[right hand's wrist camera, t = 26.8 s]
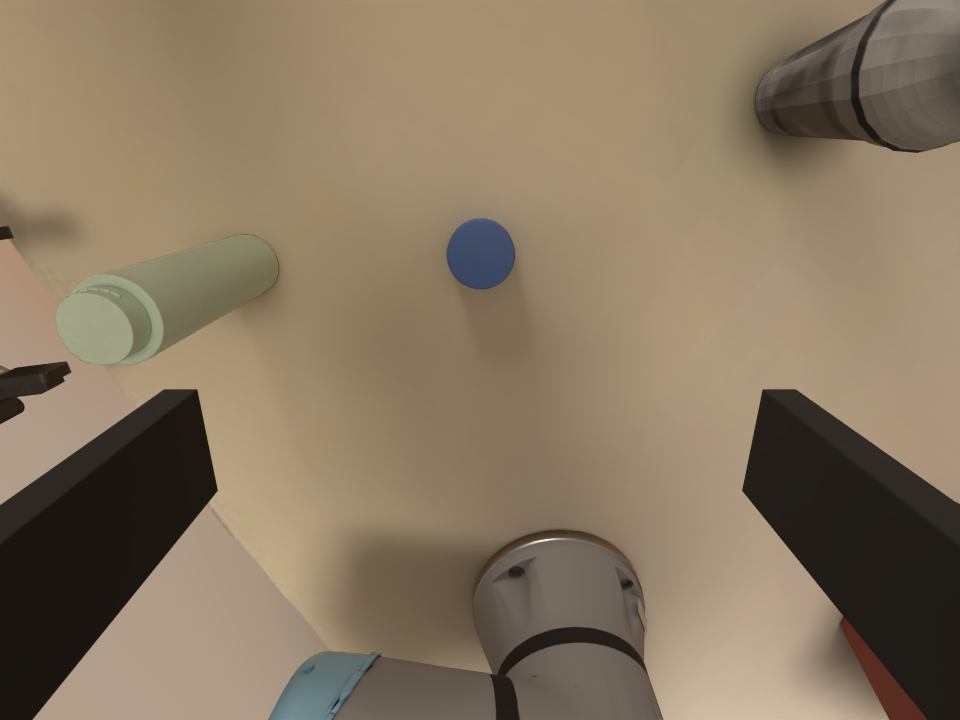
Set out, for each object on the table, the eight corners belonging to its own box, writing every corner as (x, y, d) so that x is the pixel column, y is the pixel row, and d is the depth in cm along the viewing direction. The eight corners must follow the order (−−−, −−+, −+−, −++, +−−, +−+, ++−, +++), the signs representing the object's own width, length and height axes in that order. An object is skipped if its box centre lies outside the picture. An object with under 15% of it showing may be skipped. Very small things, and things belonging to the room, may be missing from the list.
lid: (466, 294, 39) (465, 300, 37) (436, 237, 37) (435, 240, 36) (524, 266, 38) (526, 271, 36) (496, 206, 36) (496, 208, 35)
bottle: (231, 222, 37) (57, 262, 22) (288, 253, 38) (158, 312, 22) (210, 275, 38) (31, 347, 23) (265, 304, 39) (127, 392, 24)
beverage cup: (747, 175, 36) (1046, 184, 17) (721, 62, 33) (1034, -73, 14) (856, 129, 35) (1303, 85, 16) (838, 10, 32) (1336, -207, 14)
